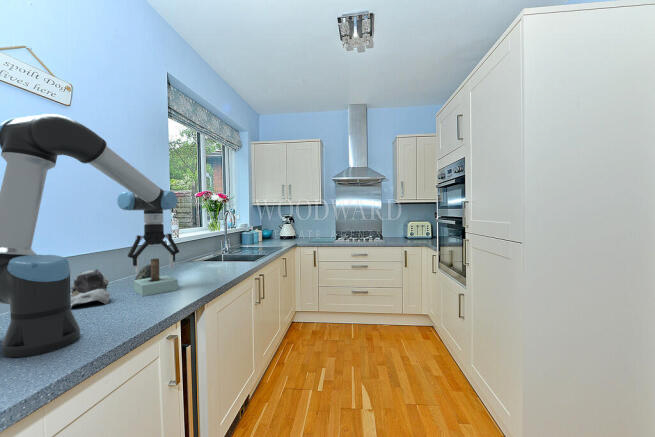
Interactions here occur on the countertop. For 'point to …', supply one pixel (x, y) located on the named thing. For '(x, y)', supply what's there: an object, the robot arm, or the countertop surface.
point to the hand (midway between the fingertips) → (155, 271)
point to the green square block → (155, 285)
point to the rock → (144, 273)
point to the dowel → (155, 270)
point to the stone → (89, 288)
